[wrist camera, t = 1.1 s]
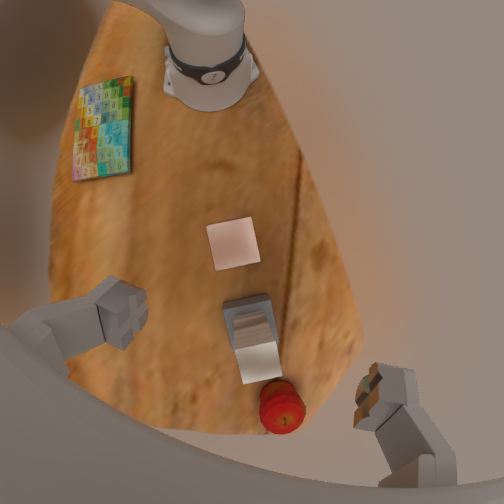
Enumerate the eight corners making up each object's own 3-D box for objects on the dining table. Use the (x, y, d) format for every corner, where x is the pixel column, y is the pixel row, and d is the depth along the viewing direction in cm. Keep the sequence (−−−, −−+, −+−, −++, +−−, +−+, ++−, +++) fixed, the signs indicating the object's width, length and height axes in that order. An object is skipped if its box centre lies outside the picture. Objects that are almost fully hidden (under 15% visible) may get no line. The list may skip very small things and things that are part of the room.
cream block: (233, 316, 47) (234, 349, 33) (263, 310, 48) (275, 340, 34) (240, 343, 48) (243, 384, 34) (269, 337, 48) (282, 375, 34)
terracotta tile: (206, 226, 51) (206, 226, 50) (251, 216, 51) (251, 216, 51) (216, 270, 52) (215, 270, 51) (260, 261, 52) (260, 261, 51)
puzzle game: (70, 180, 44) (78, 87, 43) (81, 184, 49) (87, 95, 47) (126, 170, 45) (130, 73, 44) (134, 175, 50) (137, 83, 48)
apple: (289, 410, 55) (300, 444, 43) (251, 405, 54) (255, 440, 42) (302, 377, 54) (317, 408, 43) (262, 371, 54) (269, 403, 42)
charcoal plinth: (223, 302, 52) (222, 310, 47) (266, 293, 53) (270, 299, 48) (233, 342, 53) (233, 353, 48) (275, 333, 53) (279, 343, 48)
